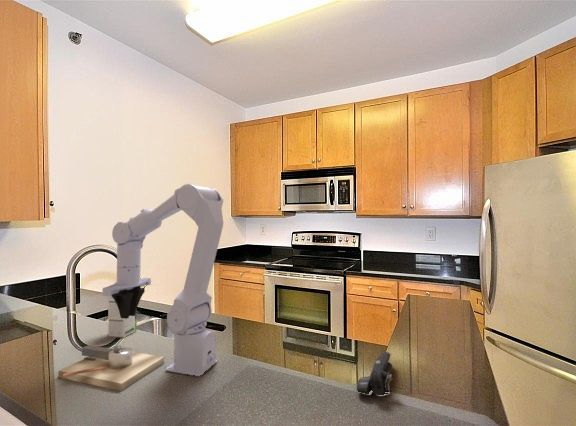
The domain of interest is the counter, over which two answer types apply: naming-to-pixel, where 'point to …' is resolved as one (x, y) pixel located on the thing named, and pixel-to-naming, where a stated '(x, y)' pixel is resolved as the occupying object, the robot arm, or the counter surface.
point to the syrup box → (119, 321)
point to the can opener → (377, 377)
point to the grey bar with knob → (110, 355)
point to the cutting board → (111, 371)
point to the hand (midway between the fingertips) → (127, 316)
